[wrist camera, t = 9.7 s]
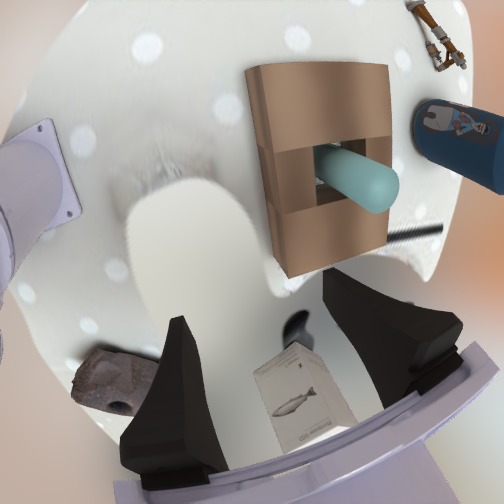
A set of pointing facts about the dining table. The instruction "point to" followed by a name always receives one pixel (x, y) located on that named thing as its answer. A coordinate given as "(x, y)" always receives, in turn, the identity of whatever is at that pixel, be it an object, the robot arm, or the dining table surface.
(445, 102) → the soda can
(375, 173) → the peg
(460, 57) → the brown long banded part
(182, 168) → the dining table surface
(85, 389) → the perforated stone tool
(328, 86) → the hole block
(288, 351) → the supplement box
